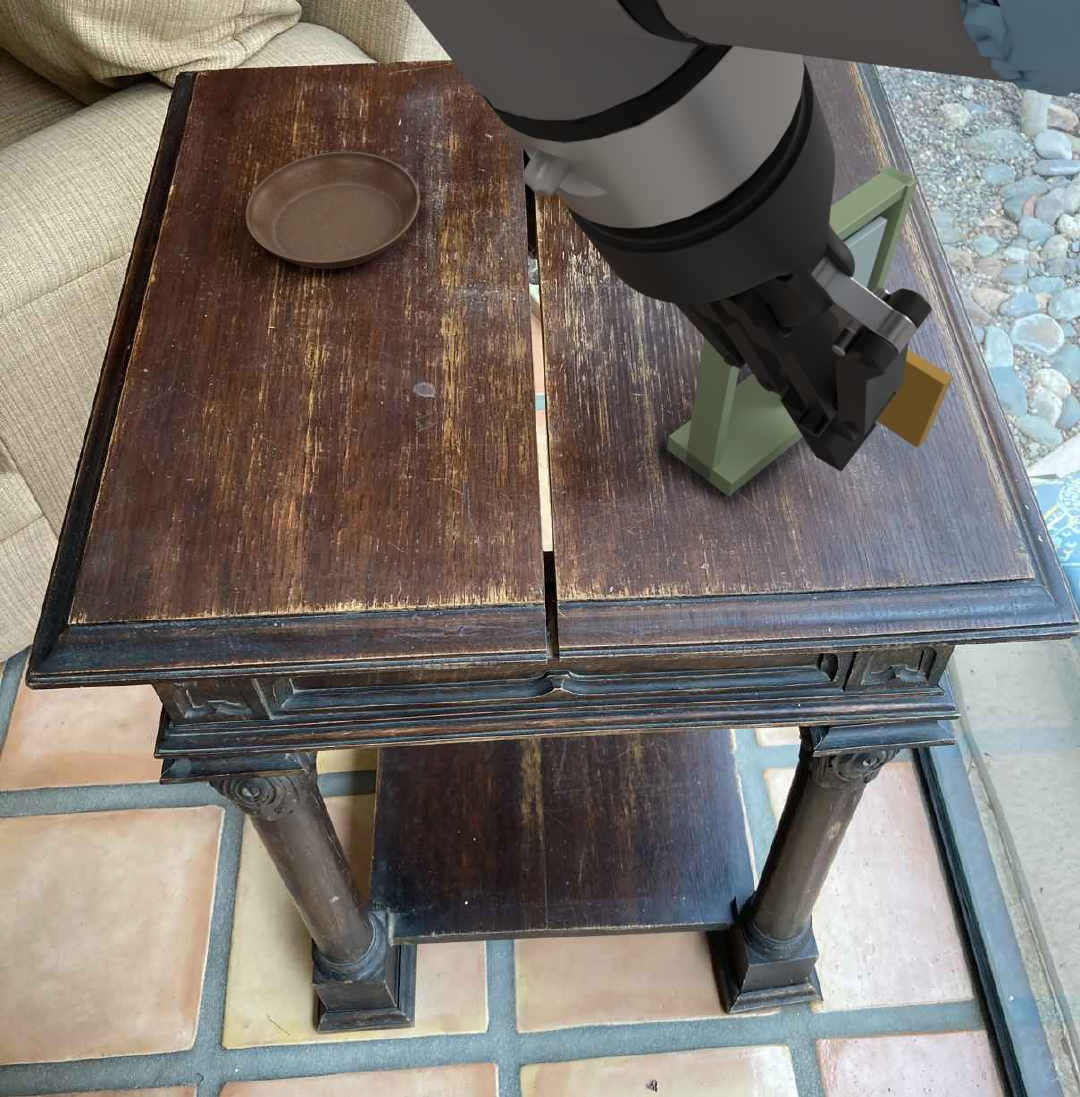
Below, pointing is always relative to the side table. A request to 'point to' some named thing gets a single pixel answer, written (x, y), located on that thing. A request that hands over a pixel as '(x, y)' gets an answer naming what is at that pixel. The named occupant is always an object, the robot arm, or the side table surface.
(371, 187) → the saucer
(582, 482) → the side table surface
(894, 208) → the window frame
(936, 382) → the window pane
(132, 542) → the side table surface
